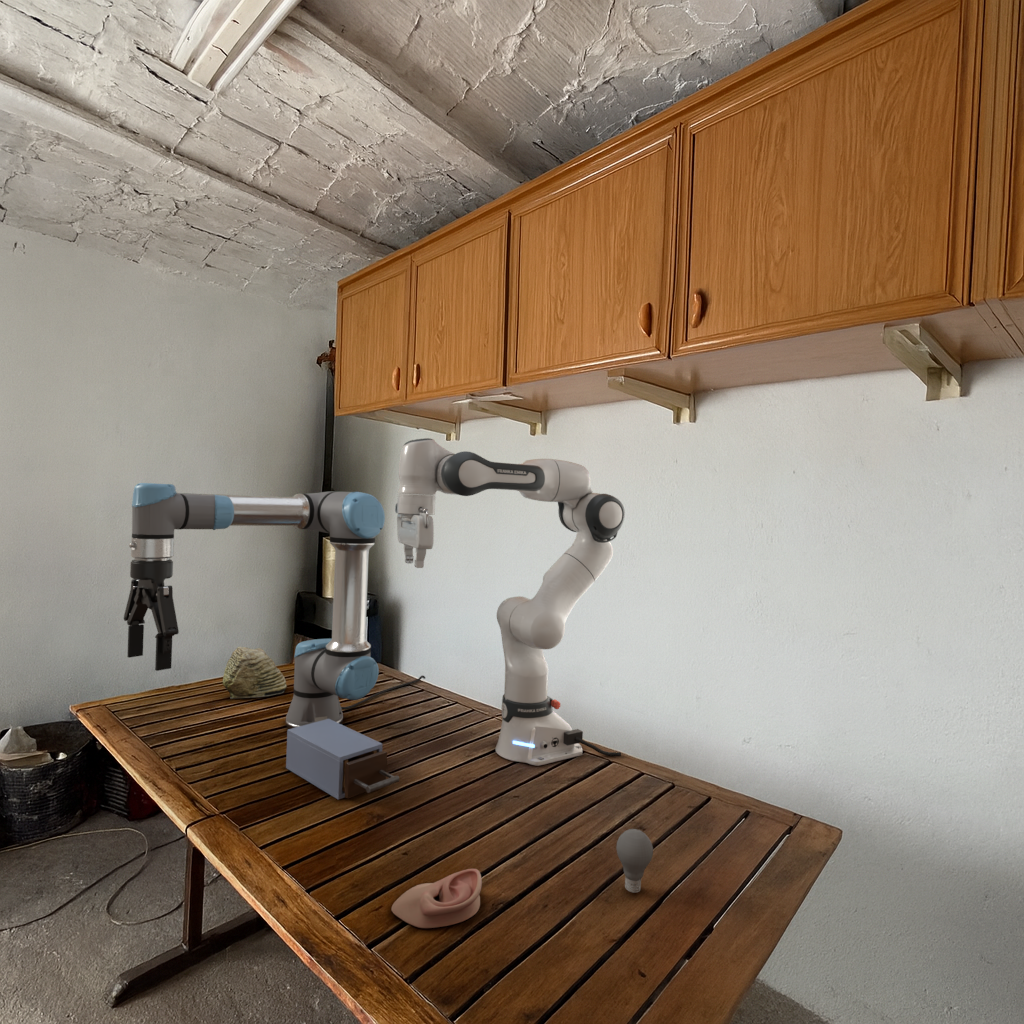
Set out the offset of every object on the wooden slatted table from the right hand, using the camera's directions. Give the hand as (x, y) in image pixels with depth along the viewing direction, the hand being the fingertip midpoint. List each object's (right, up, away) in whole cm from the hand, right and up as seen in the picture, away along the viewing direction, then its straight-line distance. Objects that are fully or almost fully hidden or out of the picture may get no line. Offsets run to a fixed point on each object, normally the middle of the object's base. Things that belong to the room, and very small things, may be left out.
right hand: (413, 565), depth 150 cm
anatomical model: (+11, -50, -50) cm, 71 cm away
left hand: (-51, -18, -20) cm, 58 cm away
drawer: (-13, -47, -10) cm, 49 cm away
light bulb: (+43, -51, -44) cm, 80 cm away
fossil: (-57, -45, +48) cm, 87 cm away
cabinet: (-18, -47, -6) cm, 51 cm away
